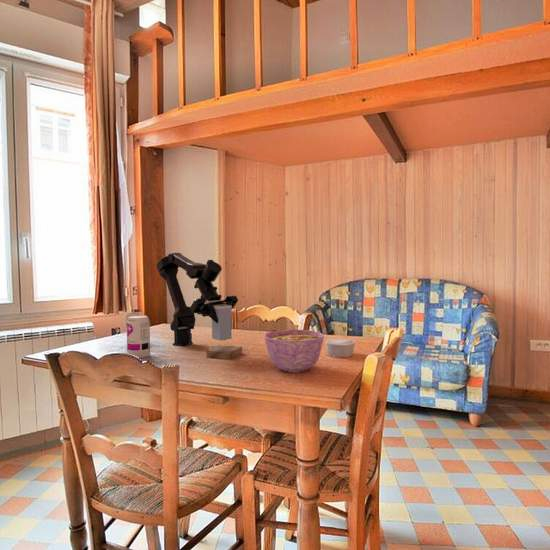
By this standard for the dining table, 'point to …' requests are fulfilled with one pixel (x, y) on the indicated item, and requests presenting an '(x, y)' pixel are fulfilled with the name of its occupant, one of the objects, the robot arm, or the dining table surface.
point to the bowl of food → (294, 348)
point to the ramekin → (340, 347)
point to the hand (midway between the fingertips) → (223, 321)
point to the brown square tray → (224, 352)
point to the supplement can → (138, 336)
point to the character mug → (131, 315)
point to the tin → (222, 322)
